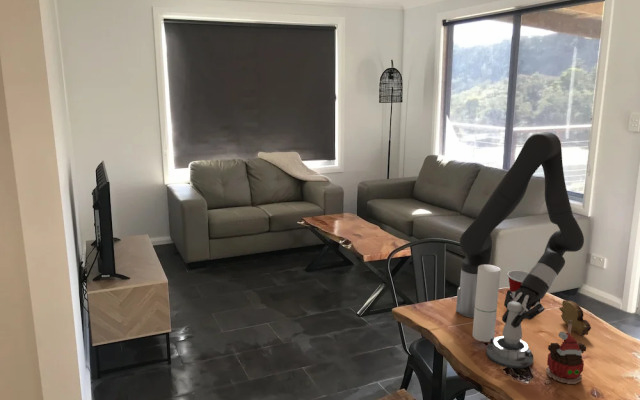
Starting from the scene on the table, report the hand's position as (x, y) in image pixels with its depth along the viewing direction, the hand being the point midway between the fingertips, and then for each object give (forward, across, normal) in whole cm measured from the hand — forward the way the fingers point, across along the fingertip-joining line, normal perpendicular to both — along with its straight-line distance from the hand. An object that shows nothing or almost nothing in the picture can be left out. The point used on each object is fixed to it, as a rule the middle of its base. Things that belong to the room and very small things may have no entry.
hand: (508, 323), depth 159 cm
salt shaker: (+3, 0, +6) cm, 7 cm away
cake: (+4, +15, +14) cm, 21 cm away
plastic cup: (-18, -28, +36) cm, 49 cm away
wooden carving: (-18, -4, +36) cm, 40 cm away
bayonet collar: (+7, 0, +10) cm, 12 cm away
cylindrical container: (+5, -14, +12) cm, 19 cm away
